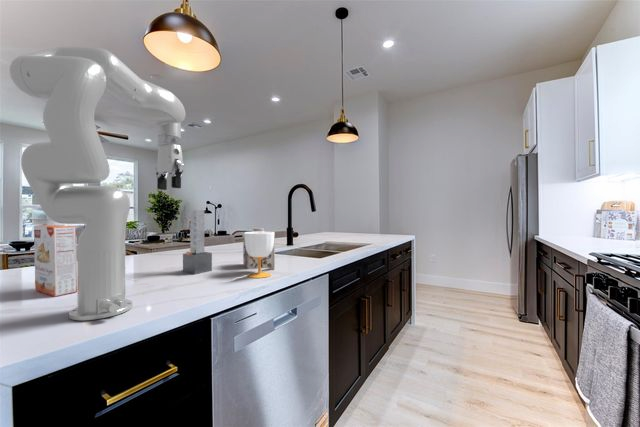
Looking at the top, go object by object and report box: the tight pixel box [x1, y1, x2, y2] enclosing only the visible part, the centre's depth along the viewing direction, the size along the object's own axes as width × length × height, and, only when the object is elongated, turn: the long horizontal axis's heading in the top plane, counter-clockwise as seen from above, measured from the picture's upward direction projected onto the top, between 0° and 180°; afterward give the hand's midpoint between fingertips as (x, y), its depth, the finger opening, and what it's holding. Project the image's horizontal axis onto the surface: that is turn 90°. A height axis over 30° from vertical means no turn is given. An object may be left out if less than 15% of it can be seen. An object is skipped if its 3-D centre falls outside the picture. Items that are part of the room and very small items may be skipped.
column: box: [189, 209, 205, 255], centre depth 110 cm, size 4×4×20 cm
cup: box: [243, 230, 275, 279], centre depth 110 cm, size 12×12×17 cm
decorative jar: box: [242, 227, 276, 272], centre depth 123 cm, size 12×12×18 cm
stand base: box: [182, 251, 213, 275], centre depth 111 cm, size 12×12×10 cm
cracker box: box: [33, 224, 78, 298], centre depth 87 cm, size 14×6×21 cm, turn 62°
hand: (168, 188), depth 103 cm, fingers open, 9 cm apart
